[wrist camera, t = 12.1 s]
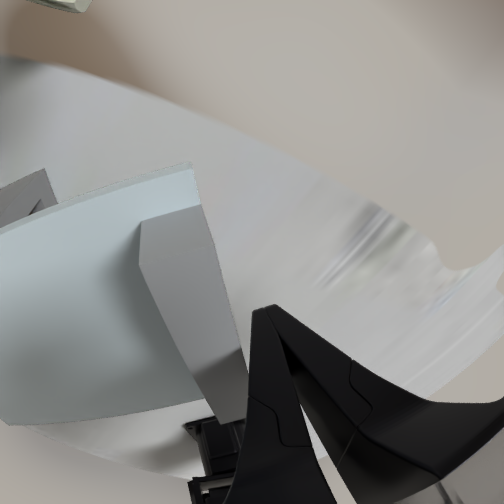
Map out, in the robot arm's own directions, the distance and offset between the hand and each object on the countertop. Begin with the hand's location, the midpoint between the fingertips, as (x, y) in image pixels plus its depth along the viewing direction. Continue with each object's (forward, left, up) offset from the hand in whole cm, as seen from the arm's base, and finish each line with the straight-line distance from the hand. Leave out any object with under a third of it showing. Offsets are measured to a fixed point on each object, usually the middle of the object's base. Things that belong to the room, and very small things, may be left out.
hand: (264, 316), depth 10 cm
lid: (0, +8, -1) cm, 8 cm away
